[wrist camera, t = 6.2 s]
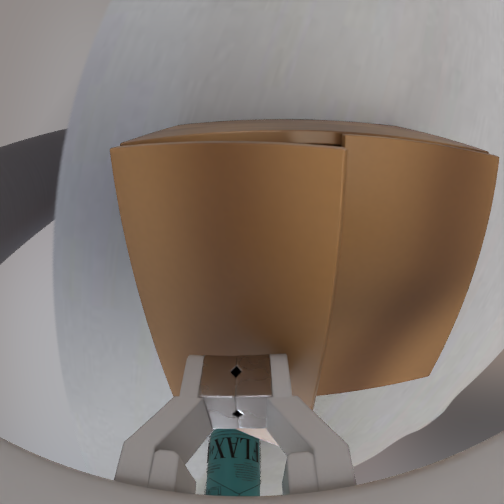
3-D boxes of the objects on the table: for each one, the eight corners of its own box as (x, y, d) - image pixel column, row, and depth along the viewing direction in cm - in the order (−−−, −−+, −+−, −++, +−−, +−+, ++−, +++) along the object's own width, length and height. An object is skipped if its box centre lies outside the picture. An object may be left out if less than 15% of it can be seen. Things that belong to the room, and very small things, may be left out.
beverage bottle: (267, 420, 33) (275, 567, 15) (249, 440, 36) (250, 567, 18) (217, 410, 32) (208, 566, 14) (203, 432, 35) (193, 564, 17)
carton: (197, 293, 24) (174, 399, 15) (177, 125, 18) (109, 146, 9) (377, 285, 24) (429, 376, 14) (398, 126, 18) (500, 156, 8)
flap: (178, 394, 15) (174, 399, 15) (117, 146, 9) (108, 148, 9) (303, 447, 12) (300, 454, 11) (348, 147, 6) (345, 149, 5)
